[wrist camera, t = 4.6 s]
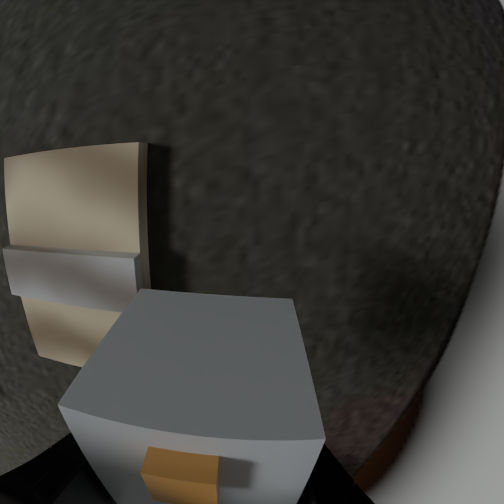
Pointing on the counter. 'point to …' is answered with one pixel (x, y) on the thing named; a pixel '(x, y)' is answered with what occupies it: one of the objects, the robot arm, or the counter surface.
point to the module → (198, 402)
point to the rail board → (76, 242)
